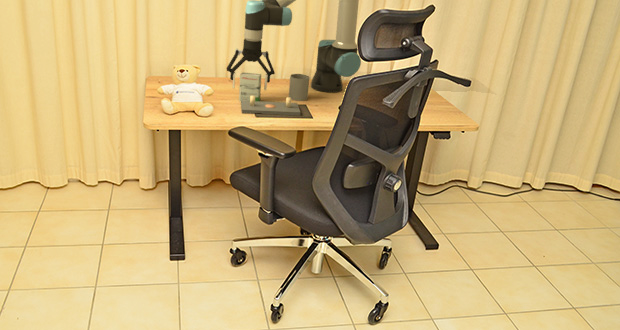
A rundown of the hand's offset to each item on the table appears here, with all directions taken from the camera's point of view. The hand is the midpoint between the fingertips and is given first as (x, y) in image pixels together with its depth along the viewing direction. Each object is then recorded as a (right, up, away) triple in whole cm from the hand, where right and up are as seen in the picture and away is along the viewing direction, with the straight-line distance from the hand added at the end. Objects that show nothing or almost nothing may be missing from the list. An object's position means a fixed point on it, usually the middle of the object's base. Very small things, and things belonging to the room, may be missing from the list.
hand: (249, 88), depth 258 cm
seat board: (+9, -10, -6) cm, 15 cm away
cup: (+21, -3, +12) cm, 24 cm away
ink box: (0, -5, +2) cm, 6 cm away
